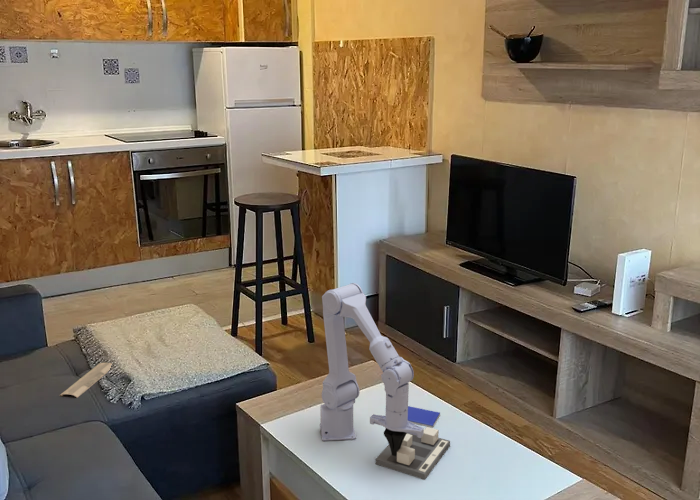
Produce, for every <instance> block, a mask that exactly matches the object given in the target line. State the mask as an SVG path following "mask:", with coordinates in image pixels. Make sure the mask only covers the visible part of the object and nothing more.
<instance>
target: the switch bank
mask: <svg viewBox="0 0 700 500" xmlns="http://www.w3.org/2000/svg"><path fill="white" fill-rule="evenodd" d="M407 434H410V433H407ZM410 435H412V445H411V446H410V447H409V448H413V449H415V459H414V460H413V461H412V462H411V464H410V465H406V464H403V463H399V462H397V456H393V455H392V453H391V449H390V446H389V444H388V445H386V447H385V448H384V449H383V450H382V451H381V452H380V453H379V455H377V457H376V458H375V459H374V460H375V461H374V462H375V465H377V466H381V467H384V468H386V469H390V470H393V471H396V472H400V473H403V474H406V475H409V476H412V477H415V478H418V479H422V480H426V479H427V477H429V475H430V474H431V472H432V470H433V469H434V468H435V467H436V465H437V463H438V462H439V461H440V460H441V459H442V457H443V456H444V455H445V453H446V451H447V450H448V449H449V447H450V446H451V440H449V439H445V438H441V437H438V440H437V441H436V442H435V444H434V445H431V444H427V443H424V442H421V439H422V437H421V438H418V437H417V435H413V434H410Z"/></svg>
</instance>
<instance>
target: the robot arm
mask: <svg viewBox="0 0 700 500" xmlns="http://www.w3.org/2000/svg"><path fill="white" fill-rule="evenodd" d="M321 301H322V303H321V304H322V317H323V325H324V334H325V335H324V336H325V342H326V343H325V344H326V353H327V363H328V374H327V375H326V377H325V378H324V379H323V380H322V390H321V399H322V402H323V404H320V408H319V409H320V418H319V419H320V422H319V430H320V433H321V440H322V441H323V442H324V441H326V442H327V441H341V440H356V439H357V435H356V431H355V427H354V405H355V404H356V399H358V397H359V396H360V393H361V392H360V386H359V384H358V382H357V376H356V374H354V373H353V372H351V371H350V369H349V362H348V361H349V360H348V359H349V358H348V351H347V350H348V349H347V341H346V340H347V339H346V329H345V320H344V318H349V319H353V321H354V322H355V324H356V325H357V326H358V328H359V329H360V330H361V332H362V334H364V335H363V336H364V337H365V338H366V339H367V340H368V342H369V350H368V351H370V354H371V355H372V356H373V358H374V360H375V361H376V363H377V365H378V367H379V368H380V370H381V371H382V374H380V376H381V377H380V378H381V381H382V384H383V385H384V391H385V415H380V414H374V413H373V414H371V416H369V425H378V426H382V427H384V428H385V430H383V436H384V437H385V439H386V440H387V441H386V442H387V443H388V445H389V446H390V449H391V453H392V455H393V456H397V452H398V450H399V449H400V448H401V444H402V442H403V440H404V438H405V436H406V434H407V433H410V434H413V435H417V437H418V438H421V437H422V436H423V434H424V429H425V428H424V427H423V426H420V425H416V424H413V423H412V422H410V421H408V406H409V387H410V385H409V384H410V382H412V380H413V379H414V376H415V375H414V373H415V372H414V369H413V367H412V365H411V363H410V362H409V361H407V360H406V359H404V358H403V357H402V356H400V355H399V354H398V352H397V350H396V349H395V346H393V343H392V342H391V340H390V339H389V338H388V337H387V336H383V335H382V334H381V332H380V330H379V329H378V326H377V325H376V323H375V321H374V319H373V317H372V314H371V313H370V311H369V309H368V307H367V305H366V302H367V296H366V295H365V294H364V291H363V289H362V287H361V286H360V285H359V284H358V283H357V282H356V283H355V282H352V283H351V282H350V283H349V284H347V285H343V286H340V287H337V288H333V289H329V290H326V291H325V293H324V294H322V296H321Z"/></svg>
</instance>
